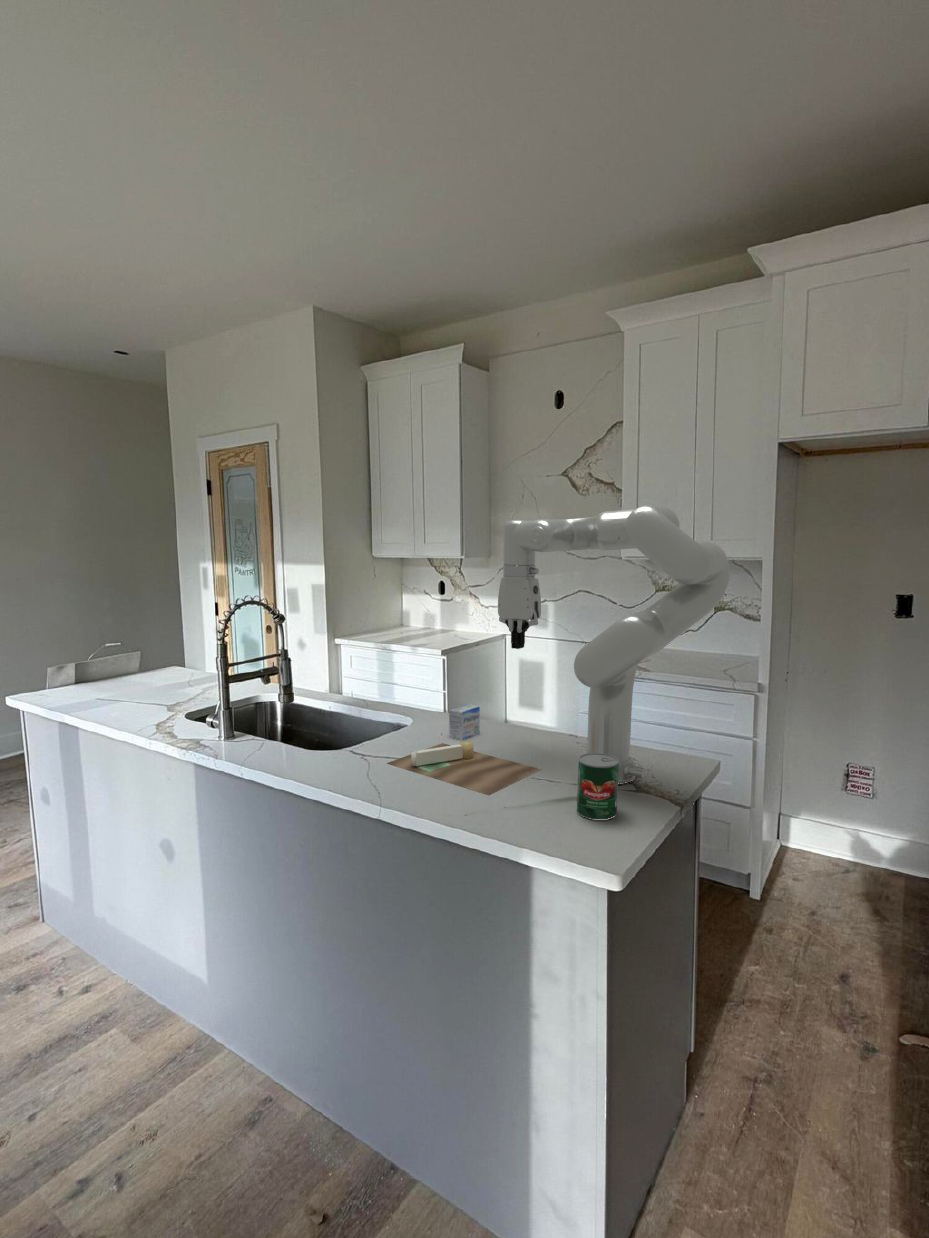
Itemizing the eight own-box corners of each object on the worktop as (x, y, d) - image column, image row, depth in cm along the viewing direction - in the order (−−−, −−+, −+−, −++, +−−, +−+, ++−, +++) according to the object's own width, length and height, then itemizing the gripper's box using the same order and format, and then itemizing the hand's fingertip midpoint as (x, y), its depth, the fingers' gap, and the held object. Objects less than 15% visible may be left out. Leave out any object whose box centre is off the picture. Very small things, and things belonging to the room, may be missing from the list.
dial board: (541, 774, 158) (541, 768, 157) (488, 800, 142) (489, 794, 142) (442, 747, 176) (442, 742, 176) (386, 768, 161) (386, 762, 161)
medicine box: (462, 744, 179) (462, 712, 178) (448, 741, 181) (448, 709, 180) (479, 737, 185) (480, 706, 184) (466, 734, 188) (466, 703, 187)
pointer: (469, 753, 167) (469, 739, 166) (475, 757, 164) (475, 743, 164) (408, 763, 160) (408, 749, 159) (414, 767, 157) (414, 753, 156)
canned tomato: (587, 823, 132) (588, 767, 130) (570, 807, 139) (571, 754, 138) (624, 818, 134) (626, 764, 132) (605, 803, 141) (607, 751, 140)
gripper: (554, 573, 163) (552, 649, 165) (502, 570, 172) (501, 642, 174) (536, 574, 157) (535, 653, 159) (484, 571, 166) (483, 646, 169)
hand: (517, 647), depth 167 cm, fingers closed
